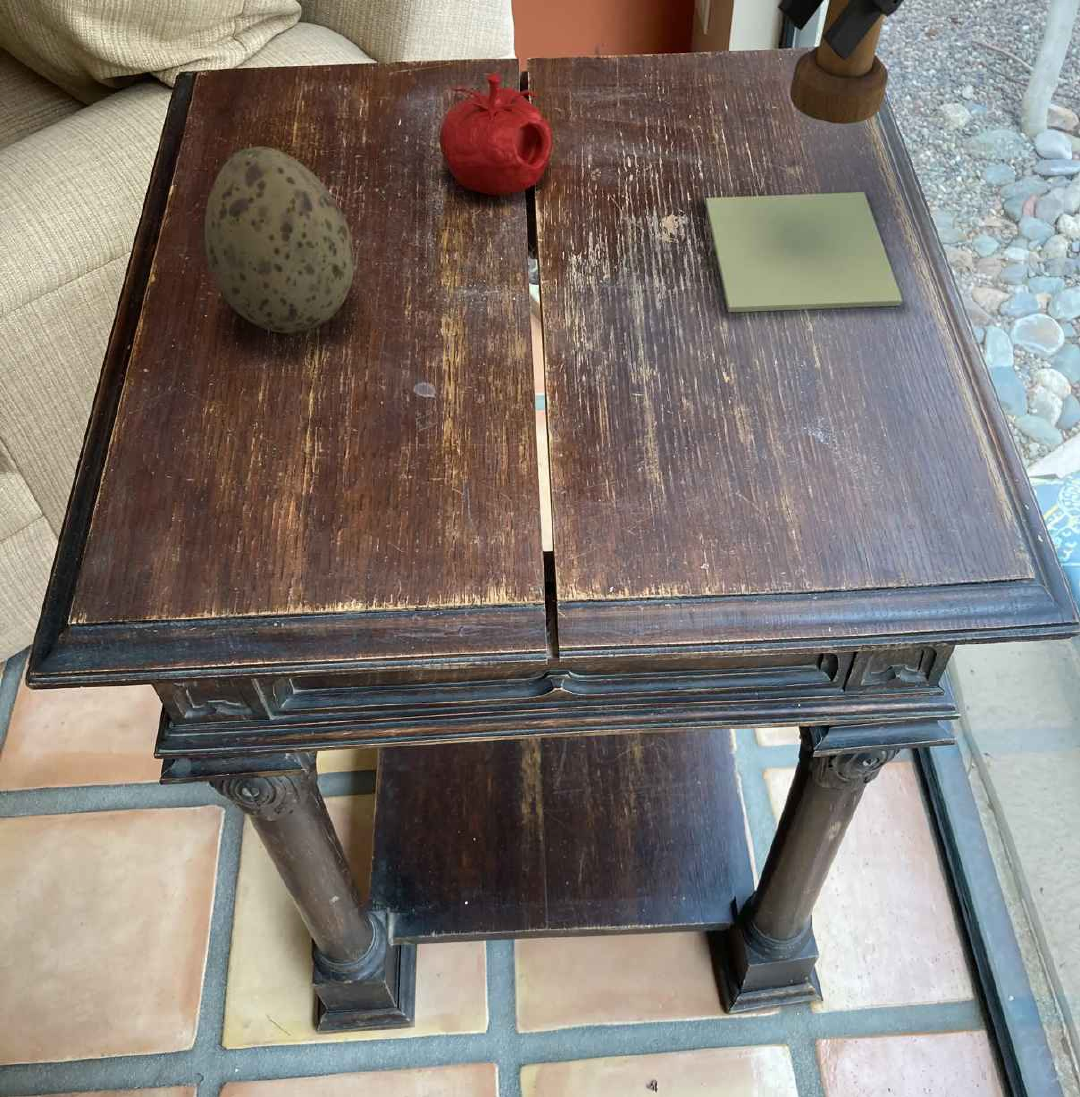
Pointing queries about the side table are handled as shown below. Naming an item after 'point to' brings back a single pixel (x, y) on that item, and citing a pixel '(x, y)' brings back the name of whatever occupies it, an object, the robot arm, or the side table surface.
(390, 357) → the side table surface
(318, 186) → the decorative egg
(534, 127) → the red tomato
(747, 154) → the side table surface
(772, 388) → the side table surface
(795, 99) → the mortar and pestle
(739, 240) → the mat
